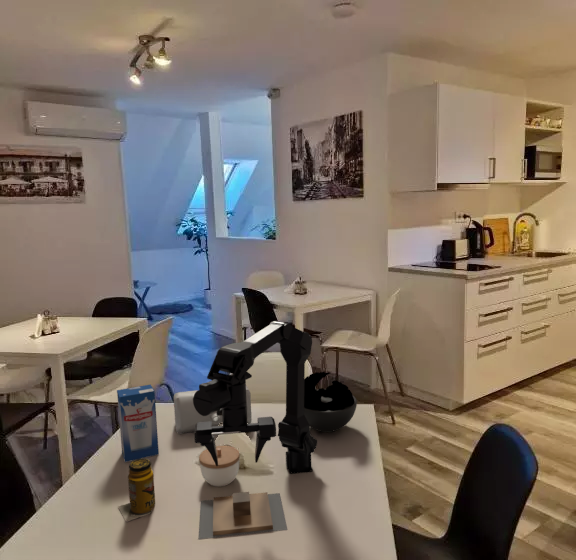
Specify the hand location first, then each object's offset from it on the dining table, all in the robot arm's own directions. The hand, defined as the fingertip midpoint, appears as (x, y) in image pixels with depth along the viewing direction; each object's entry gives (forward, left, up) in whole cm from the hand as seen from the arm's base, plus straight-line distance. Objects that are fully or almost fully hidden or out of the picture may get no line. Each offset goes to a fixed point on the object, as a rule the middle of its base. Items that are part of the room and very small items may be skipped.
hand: (236, 463), depth 121 cm
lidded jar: (+4, -16, -13) cm, 21 cm away
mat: (-1, +1, -13) cm, 13 cm away
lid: (-1, +1, -13) cm, 13 cm away
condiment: (+24, -7, -13) cm, 29 cm away
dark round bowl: (-30, -42, -13) cm, 53 cm away
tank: (+6, -50, -14) cm, 52 cm away
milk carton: (+28, -36, -13) cm, 47 cm away
